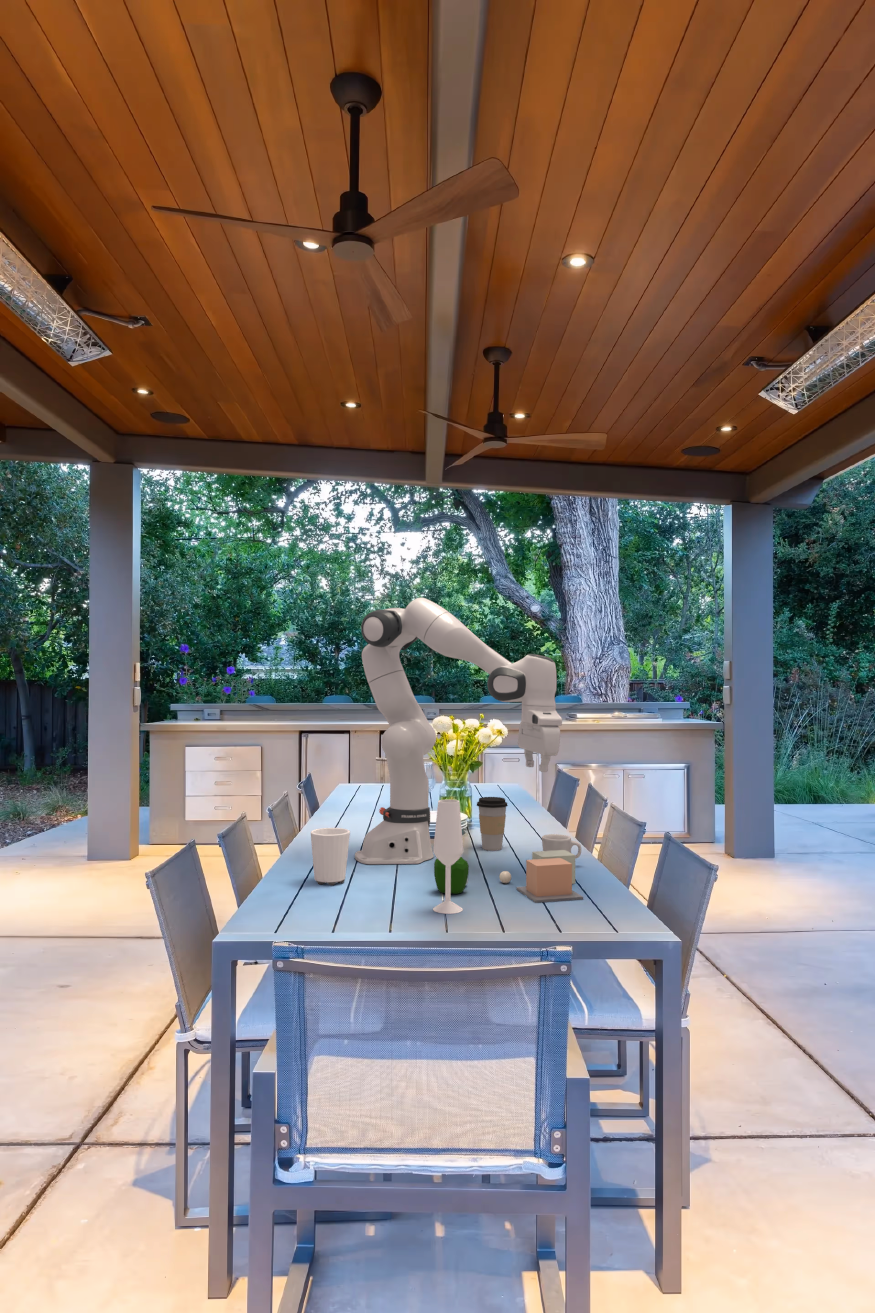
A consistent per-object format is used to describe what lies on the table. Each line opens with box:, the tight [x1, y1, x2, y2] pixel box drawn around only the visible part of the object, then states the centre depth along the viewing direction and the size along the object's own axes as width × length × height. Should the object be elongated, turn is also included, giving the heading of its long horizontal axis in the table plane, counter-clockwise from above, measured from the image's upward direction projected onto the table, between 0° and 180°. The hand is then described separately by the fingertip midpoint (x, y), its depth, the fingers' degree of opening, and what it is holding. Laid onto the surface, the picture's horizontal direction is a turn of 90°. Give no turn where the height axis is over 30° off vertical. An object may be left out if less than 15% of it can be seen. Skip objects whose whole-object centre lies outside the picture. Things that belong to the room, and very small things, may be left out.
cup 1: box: [310, 827, 351, 887], centre depth 204 cm, size 10×10×13 cm
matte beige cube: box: [531, 850, 576, 885], centre depth 206 cm, size 9×6×7 cm
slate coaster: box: [516, 885, 584, 904], centre depth 194 cm, size 12×12×1 cm
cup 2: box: [541, 833, 582, 860], centre depth 223 cm, size 11×8×8 cm
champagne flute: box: [432, 799, 464, 915], centre depth 181 cm, size 7×7×24 cm
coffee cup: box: [476, 796, 509, 852], centre depth 245 cm, size 9×9×15 cm
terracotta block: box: [525, 858, 573, 897], centre depth 194 cm, size 9×6×7 cm
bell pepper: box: [433, 856, 470, 894], centre depth 196 cm, size 8×8×10 cm
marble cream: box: [498, 870, 512, 884], centre depth 204 cm, size 3×3×3 cm
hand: (536, 769), depth 213 cm, fingers open, 8 cm apart
